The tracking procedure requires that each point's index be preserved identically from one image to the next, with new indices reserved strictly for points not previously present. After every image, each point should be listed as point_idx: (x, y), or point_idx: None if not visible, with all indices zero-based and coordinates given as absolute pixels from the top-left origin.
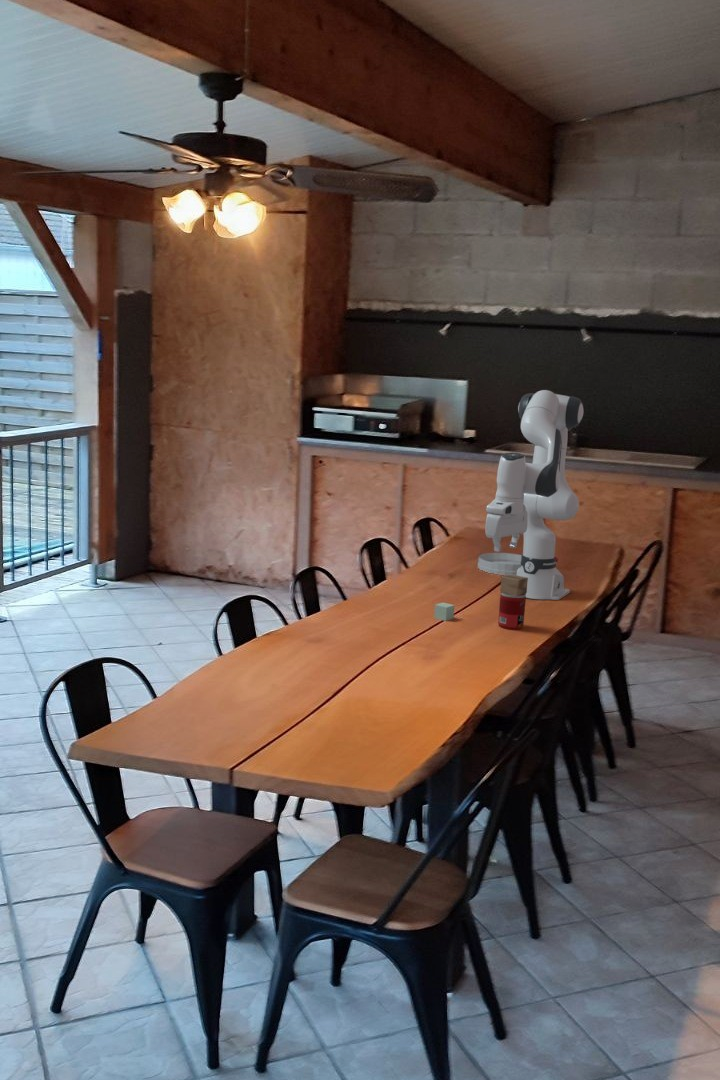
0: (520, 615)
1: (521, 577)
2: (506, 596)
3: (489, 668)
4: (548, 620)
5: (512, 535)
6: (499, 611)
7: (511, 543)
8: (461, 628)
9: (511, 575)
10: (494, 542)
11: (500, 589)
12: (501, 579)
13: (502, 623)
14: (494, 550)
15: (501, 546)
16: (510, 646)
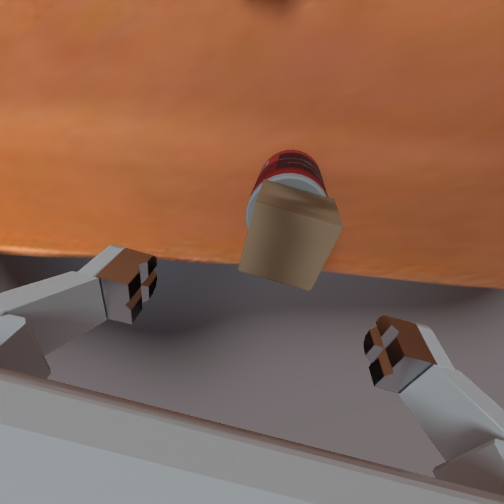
0: None
1: (298, 272)
2: (247, 204)
3: (12, 219)
4: (394, 245)
5: (489, 454)
6: (272, 162)
7: (389, 356)
8: (189, 60)
9: (316, 232)
10: (20, 301)
11: (262, 183)
12: (257, 198)
13: (261, 170)
14: (112, 246)
15: (131, 318)
16: (144, 219)
